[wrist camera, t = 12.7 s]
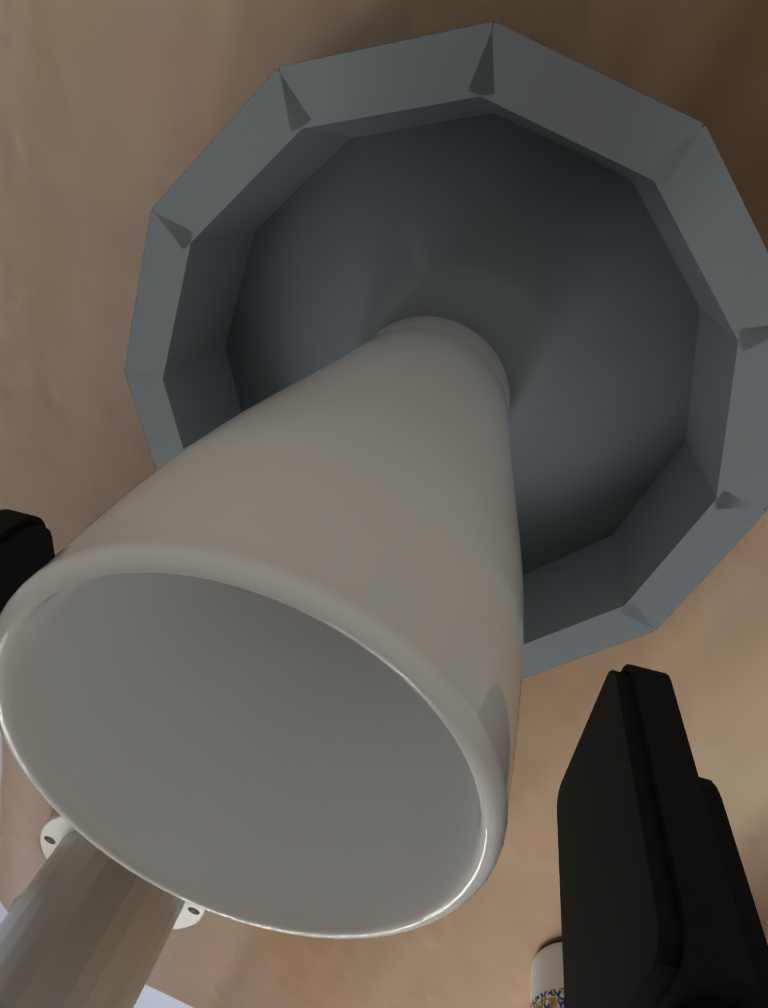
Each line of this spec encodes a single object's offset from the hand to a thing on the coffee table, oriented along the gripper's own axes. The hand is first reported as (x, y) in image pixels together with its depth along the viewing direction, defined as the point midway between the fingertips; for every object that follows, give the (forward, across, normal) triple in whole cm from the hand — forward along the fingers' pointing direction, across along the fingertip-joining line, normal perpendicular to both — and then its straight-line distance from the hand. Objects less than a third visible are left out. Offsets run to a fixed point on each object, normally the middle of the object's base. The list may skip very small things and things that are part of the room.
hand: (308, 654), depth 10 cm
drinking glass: (+12, 0, -1) cm, 12 cm away
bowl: (+13, 0, -1) cm, 13 cm away
